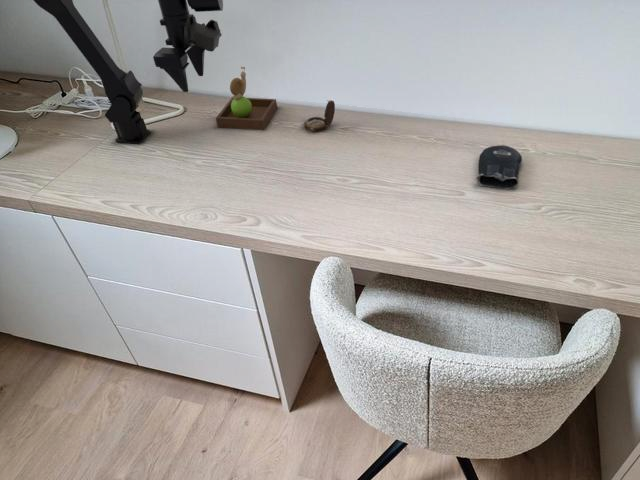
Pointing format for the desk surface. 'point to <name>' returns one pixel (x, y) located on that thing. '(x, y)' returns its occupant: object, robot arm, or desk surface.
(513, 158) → the black beanie hat
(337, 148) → the desk surface
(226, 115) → the tray
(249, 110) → the green and brown figure
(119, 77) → the robot arm
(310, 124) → the compass
